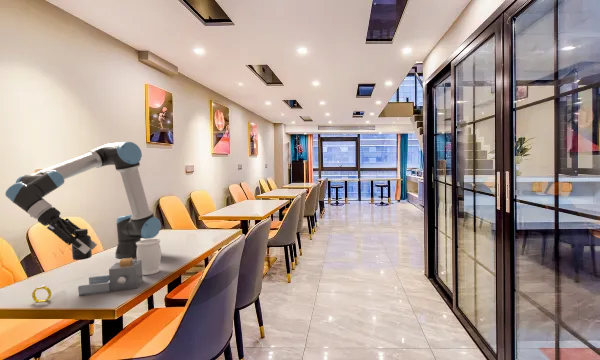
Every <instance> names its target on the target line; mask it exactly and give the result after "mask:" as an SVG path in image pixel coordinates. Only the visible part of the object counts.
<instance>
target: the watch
mask: <svg viewBox="0 0 600 360" xmlns="http://www.w3.org/2000/svg"><path fill="white" fill-rule="evenodd" d="M37 290H46V291H47V295H48V296H47V298H46V299H38V298H37V296H36V292H37ZM31 297H32V300H33V301H34V302H36V303H45V302H47V301H49V300H50V299H51V297H52V291H51V289H50V288H49V286H46V284H43V285H38V286H36V288H35V289H34V290H33V291H32V293H31Z"/></svg>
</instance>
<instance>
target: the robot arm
mask: <svg viewBox="0 0 600 360" xmlns="http://www.w3.org/2000/svg"><path fill="white" fill-rule="evenodd" d="M142 157H143V153H142V150H141V148H140V146H138V144H136V143H135V142H133V141H118V142H110V143H106V144H104V145H103V144H102V145H101V146H99V147H96V148H94V149H91V150H89V151H88V153H85V154H84V155H81V156H78V157H75V158H73V159H70V160H66V161H64V162H62V163H59V164H56V165H53V166H50V167H47V168H44V169H41V170H39V171H37V172H34V173H33V172H32V173H31V174H24V175H21V176H19V177H18V178H17V179H16V181H15V183H13V184H12V185H11V186H9V187H8V188H7V189H6V190H5V197H6V198H7V199H8V200H10V201H11V202H12V203H13V204H15V205H16V206H17V207H19V208H21V209H22V210H23V211H24V212H26V213H27V214H28V215H29V217H30V218H33V219H35V220H37V222H39V223H40V224H41V225H42V226H44V227H46V228H47V230H48V231H50V232H52V233H53V234H54V235H56V236H57V237H58V238H59V239H60V240H61V241H62V242H64V243H65V244H66V245H68V246H72V245H74V246H75V247H76V248H78V249H79V250H80V251H82V252H83V253H84V254H86V253H87V252H88V251H89V250H90V248H89V247H88V246H86V245H85V244H84V243H83V242H81V241H80V240H79V239H76V240H75V237H74V236H75V235H74V230H78V229H81V228H80V226H78V225H76V224H75V223H73V222H72V221H71V220H70V219H69V218H67V217H66V218H65V219H64V218H62V217H61V211H59V210H58V208H56V207H54V206H53V205H52V204H51V203H49V202H48V201H47V200H46V199H44V198H45V197H46V196H47V195H49V194H51V193H52V192H53V191H55V190H56V189H57V190H58V189H59V188H60V187H62V185H64V184H65V180H67V179H69V178H72V177H74V176H77V175H79V174H81V173H84V172H87V171H90V170H91V169H95V168H97V169H99V168H102V167H105V166H113V165H114V167H115V170H116V171H118V172H119V173H120V175H121V180H122V183H123V186H124V187H123V188H124V190H125V193H126V194H125V195H126V197H127V200H128V203H129V206H130V211H131V214H126V215H122V216H118V217H117V218H116V232H117V246H116V249H115V253H114V254H115V256H114V257H115V258H117V259H123V258H137V255H136V252H137V245H136V242H138V241H142V239H144V240H147V239H155V237H157V236H158V235H159V234H160V231H161V228H162V224H161V221H160V219H159V218H158V217H155V215H154V211H152V210H151V209H150V208H149V204H148V200H147V197H146V193H145V190H144V186H143V183H142V179H141V175H140V172H139V167H140V165H141V164H140V161H141V160H142ZM97 246H98V243H96V242H95V241H94V240H93V239H91V250H92V251H93V250H94V249H95V248H96V247H97Z"/></svg>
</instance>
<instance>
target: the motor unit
mask: <svg viewBox="0 0 600 360" xmlns="http://www.w3.org/2000/svg"><path fill="white" fill-rule="evenodd" d="M133 258H134V257H131V258H120V260H119V262H115V263H114V264H113V265H112V266H111V267H110V268H109V269H108V274H105V275H93V276H89V277H88V284H82V285H81V284H80V285H78V287H77V290H78V292H77V293H78V296H79V297H81V296H91V295H98V294H99V295H100V294H106V293H108V294H109V293H111V292H117V291H126V290H135V289H138V288H139V287H140V285H141V284H142V283H143V279H144V278H143V277H144V276H143V275H142V262H141V260H138V261H137V260H133Z"/></svg>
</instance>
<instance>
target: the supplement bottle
mask: <svg viewBox="0 0 600 360" xmlns="http://www.w3.org/2000/svg"><path fill="white" fill-rule="evenodd" d="M74 235H75V236H74ZM74 235H73V236H74V237H75V240H76V239H79V240H80V241H81V242H83V243H84V244H85V245H86V246H88V247H89V248H90V250H89V251H88V252H87V253H86V254H84V253H83V252H82V251H80V250H79V249H78V248H76V247H75V246H74V245H72V244H71V253H72V259H73V260H74V261H80V260H81V261H82V260H88V259H90V258H92V256H93V254H92V253H93V252H92V251H93V250H92V249H91V240H92V238H91V236H90V235H89V230H88V229H87V228H80V229H78V230H74Z"/></svg>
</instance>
